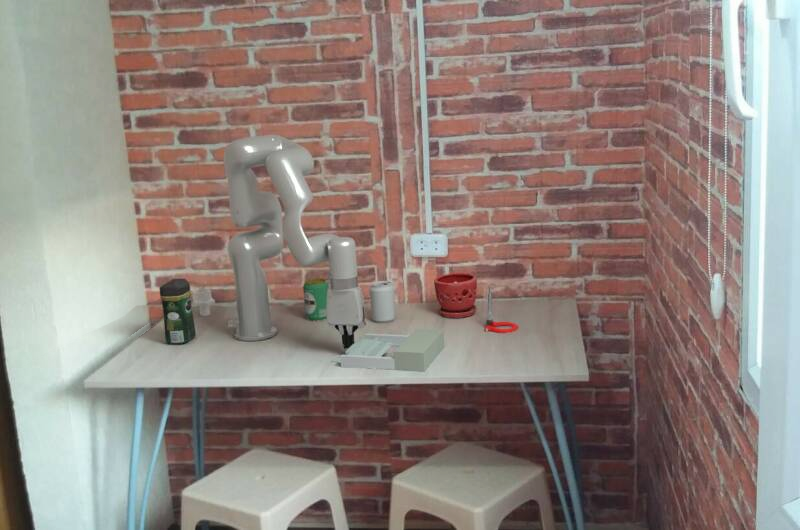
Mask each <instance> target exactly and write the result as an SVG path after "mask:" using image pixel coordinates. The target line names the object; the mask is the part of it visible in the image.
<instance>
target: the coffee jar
mask: <svg viewBox="0 0 800 530" xmlns="http://www.w3.org/2000/svg"><path fill="white" fill-rule="evenodd" d="M191 295H192V294H191V287H190V282H189V281H188V280H187V279H186V278H172V279H171V280H169V281H168V282H166V283H164V284H162V285H161V286H159V297H160V300H161V305H162V313H163V314H162V315H163V326H164V338H165V342H166V343H167V344H169V345H174V346H175V345H181V344H188V343H189V342H191V341H192V340H193V339H194V338H195V337H196V335H197V334H196V333H197V332H196V327H195V326H196V325H195V321H194V313H193V307H192V300H191V298H192V297H191Z"/></svg>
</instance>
